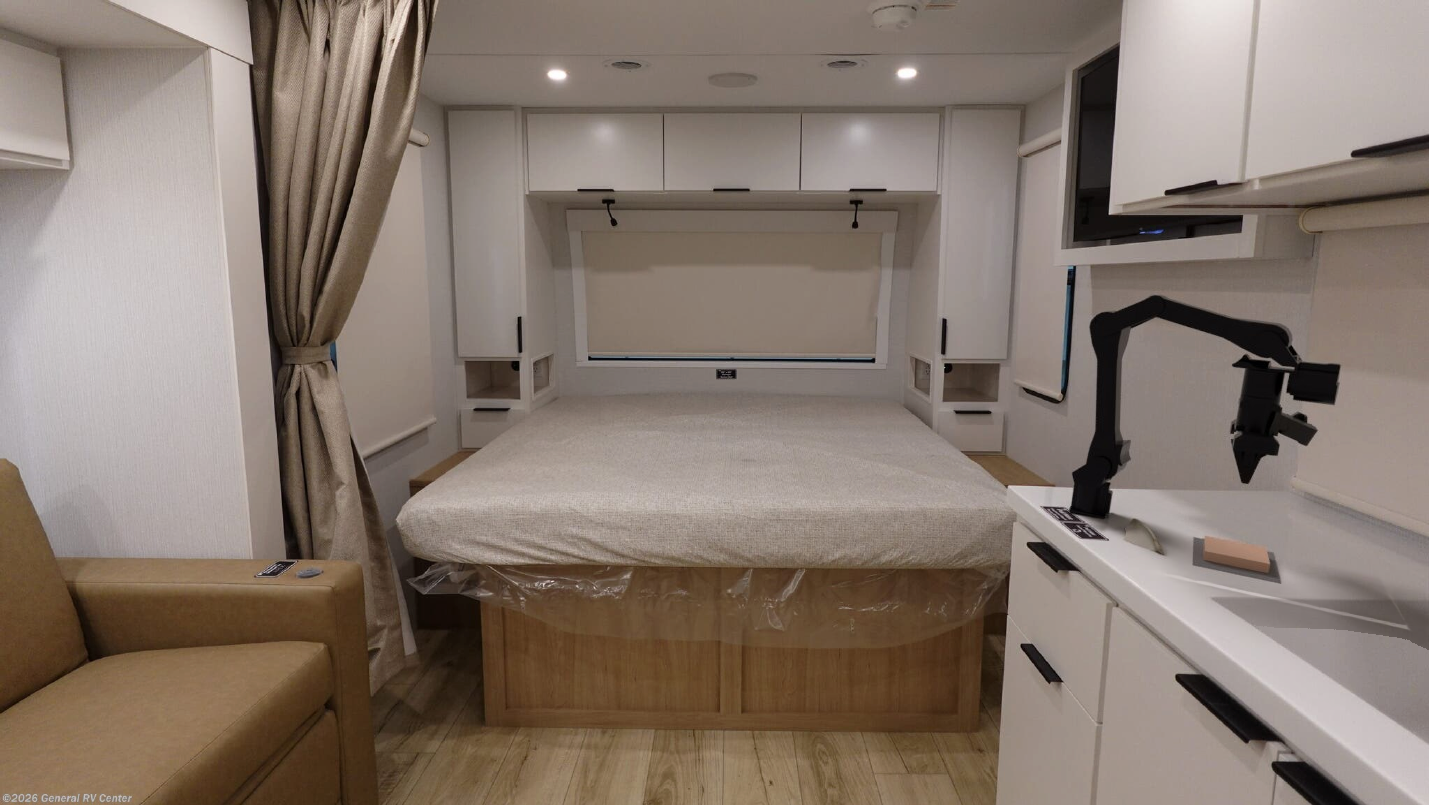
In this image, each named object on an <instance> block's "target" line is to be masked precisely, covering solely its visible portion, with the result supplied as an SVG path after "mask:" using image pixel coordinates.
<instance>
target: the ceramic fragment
mask: <svg viewBox="0 0 1429 805" xmlns="http://www.w3.org/2000/svg"><path fill="white" fill-rule="evenodd" d="M1124 531H1125V534H1124V537H1123V540H1122V541H1125V542H1126V543H1129V544H1131V545H1133V546H1137V547H1139V548H1142V549H1146V550H1149V551H1151V552H1154V553H1156V554H1159V555H1162V556H1164V554H1163V551H1162V547H1161V545H1160V543H1159V540H1158V539H1157V537H1156V535H1155V534H1154V531H1152V529H1151V528H1150V527H1149V526H1148V525H1147V524H1146V523H1145V522H1143V521H1142V520H1140V519H1138V518H1132V519H1131V521H1130V522H1129V524H1128V525H1127V526H1126V527H1124Z"/></svg>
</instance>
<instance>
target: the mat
mask: <svg viewBox="0 0 1429 805" xmlns="http://www.w3.org/2000/svg"><path fill="white" fill-rule="evenodd" d="M1192 543H1193V544H1192V545H1193V546H1192V549H1193V550H1192V566H1195V567H1199V568H1200V567H1201V568H1205V569H1209V570H1214V571H1218V572H1224V573H1228V574H1231V575H1232V574H1233V575H1238V576H1242V577H1248V578H1253V579H1257V580H1262V581H1265V582H1269V583H1275V584H1276V583H1277V584H1281V585H1282V581H1281V577H1280V573H1279V572H1280V571H1279V568H1278V566H1277V561H1276V555H1275V554H1274V553H1275V552H1273V551H1268V550H1267V553H1268V557H1269V561H1270V567H1269V572H1268V573H1264V572H1259V571H1254V570H1250V569H1245V568H1240V567H1235V566H1230V565H1225V564H1221V563H1216V562H1211V561H1206V560H1203V543H1204V538H1200V537H1197V536H1193V541H1192Z"/></svg>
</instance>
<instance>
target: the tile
mask: <svg viewBox="0 0 1429 805" xmlns="http://www.w3.org/2000/svg"><path fill="white" fill-rule="evenodd" d="M1203 539H1204V543H1203V560H1206V561H1211V562H1216V563H1221V564H1225V565H1230V566H1235V567H1240V568H1245V569H1250V570H1254V571H1259V572H1264V573H1268V572H1269V567H1270V561H1269V557H1268V553H1267V551H1268V549H1267V547H1266V546H1262V545H1255V544H1250V543H1246V542H1245V543H1244V542H1240V541H1235V540H1230V539H1225V538H1220V537H1216V536H1215V537H1214V536H1209V535H1204V537H1203Z"/></svg>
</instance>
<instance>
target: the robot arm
mask: <svg viewBox="0 0 1429 805" xmlns="http://www.w3.org/2000/svg"><path fill="white" fill-rule="evenodd" d="M1155 318H1157V319H1160V320H1161V319H1162V320H1163V321H1168V322H1171V323H1174V324H1177V325H1180V326H1183V327H1187V328H1190V329H1193V330H1196V331H1200V332H1203V333H1205V334H1208V335H1209V334H1210V335H1213V336H1215V337H1216V336H1217V337H1219V338H1222V339H1223V340H1226V341H1228V342H1230V343H1232V344H1233V345H1235V346H1237V347H1239V348H1241V349H1243V350H1245V351H1247V352H1249V353H1251V354H1252V355H1255V356H1256V357H1260V358H1262V359H1256V358H1252V357H1251V356H1250V354H1249V353H1245V354H1243V355H1242V357H1240V358H1239V359H1238V360H1236V361H1234V362H1233V363H1231V367H1233V368H1236V369H1238V368H1239V369H1244V374H1243V380H1242V384H1241V390H1240V391H1241V392H1240V397H1239V398H1238V408H1237V414H1236V418H1235V419H1233V420H1232V421H1231V422H1230V427H1229V434H1230V435H1233V438H1230V444H1231V448H1232V452H1233V456H1234V457H1233V458H1234V460H1235V464H1236V467H1237V471H1238V474H1239V479H1240V483H1241V484H1242V485H1243V484H1244V485H1249V484H1250V483H1251V480H1252V479H1253V476H1254V474H1255V471H1256V470H1257V469H1258V468H1257V467H1259V464H1260V461H1261V460H1262V459H1263V458H1264V457H1266V456H1273V457H1277V456H1279V451H1280V446H1281V445H1280V442H1279V440H1278V439H1277V438H1276V437H1278V436H1279V434H1281V435H1282V436H1285V437H1287V438H1289V439H1291V440H1294V441H1295V442H1297V443H1298V444H1299V445H1302V446H1304V447H1308V446H1309V444H1310V442H1311V441H1312V440H1313V438H1314V437H1315V435H1317V433H1318V431H1319V430H1318V428H1317V427H1316V426H1315V425H1313V424H1312V423H1309V422H1308V416H1307V415H1306V414H1304V413H1303V412H1300V411H1296V412H1294V413H1292V414H1288V413H1285V412H1283V407H1282V405H1281V403H1280V402H1281V398H1282V391H1283V386H1284V382H1285V376H1286V374H1289V375H1288V378H1287V382H1286V383H1287V384H1286V391H1285V394H1289V396H1292V400H1293V401H1295V402H1296V401H1297V402H1304V403H1314V404H1320V405H1321V404H1322V405H1330V406H1335V405H1336V402H1337V397H1338V393H1339V388H1340V383H1341V382H1340V381H1339V380H1340V373H1341V367H1342V365H1341V364H1340V363H1337V362H1336V363H1335V362H1329V363H1323V362H1313V361H1303V359H1302V358H1301V354H1299V353H1298V352H1297V350H1296V349H1295V348H1294V346H1293V339H1294V338H1293V334H1292V332H1291V329H1290V328H1289V327H1287V326H1286V325H1284V324H1282V323H1278V322H1273V321H1264V320H1257V319H1248V318H1240V317H1233V316H1230V315H1226V314H1223V313H1220V312H1216V311H1212V310H1209V309H1206V308H1204V307H1200V306H1196V305H1192V304H1189V303H1186V302H1182V301H1179V300H1176V299H1172V298H1169V297H1167V296H1166V295H1164V294H1152V295H1149V296H1148V297H1146V298H1145V299H1143V300H1142V299H1141V301H1138V302H1136V303H1132V304H1131V305H1128V306H1127V307H1123V308H1120V309H1119V310H1109V311H1101V312H1100V313H1098V314H1096V315H1095V316H1094V317H1093V318H1091V321H1090V322H1089V327H1088V328H1089V334H1090V339H1091V346H1092V348H1093V350H1094V352H1093V353H1094V354H1095V357H1096V384H1095V386H1096V387H1095V388H1096V389H1095V390H1096V392H1095V427H1094V428H1095V429H1094V434H1093V437H1092V440H1091V442H1090V445H1089V448H1088V452H1087V456H1086V457H1087V458H1086V462H1085V464H1083V465H1082V466H1080V467H1079V468H1077V469H1075V470H1073V471H1072V472H1071V476H1072V480H1073V488H1072V495H1071V496H1072V497H1071V503H1070V506H1069V508H1068V511H1069V512H1070V513H1075V514H1079V515H1084V516H1091V517H1096V518H1100V519H1105V518H1106V517H1107V515H1108V514H1110V512H1111V506H1112V500H1113V494H1114V492H1113V491H1114V490H1111V485H1112V482H1111V480H1112V479H1113V478H1114V477H1115V476H1117V475H1118V474H1119V473H1121V472H1122V471H1124V469H1125V468H1126V467H1127V463H1128V462H1130V461H1132V458H1131V456H1130V448H1131V443H1132V440H1131V439H1125V440H1124V439H1123V435H1122V433H1121V406H1122V405H1121V402H1122V400H1121V399H1122V373H1123V372H1122V370H1123V367H1122V366H1123V357H1124V355H1125V352H1126V348H1127V346H1128V343H1129V338H1130V333H1131V331H1132V329H1134V328H1136V327H1138V326H1140V325H1143V324H1145V323H1147V322H1149V321H1151V320H1154V319H1155ZM1264 359H1266V360H1264ZM1268 359H1271V360H1273V361H1274V362H1275V363H1277V364H1279V366H1281V367H1279V366H1272V361H1271V360H1268ZM1286 367H1287V368H1286ZM1288 367H1289V368H1288ZM1235 433H1236V434H1235ZM1109 481H1110V482H1109Z"/></svg>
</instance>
